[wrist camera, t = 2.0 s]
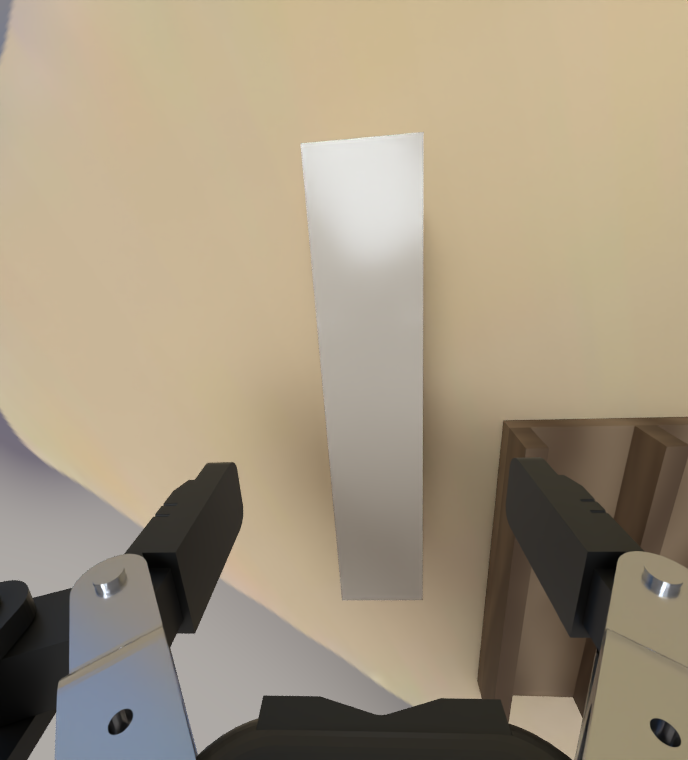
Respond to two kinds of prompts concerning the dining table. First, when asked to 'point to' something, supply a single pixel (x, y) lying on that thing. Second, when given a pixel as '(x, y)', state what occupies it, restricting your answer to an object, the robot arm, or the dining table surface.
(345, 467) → the gray rectangular block
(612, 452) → the rack
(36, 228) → the dining table surface
